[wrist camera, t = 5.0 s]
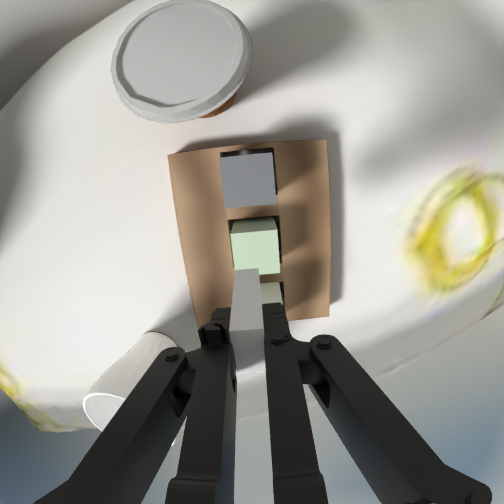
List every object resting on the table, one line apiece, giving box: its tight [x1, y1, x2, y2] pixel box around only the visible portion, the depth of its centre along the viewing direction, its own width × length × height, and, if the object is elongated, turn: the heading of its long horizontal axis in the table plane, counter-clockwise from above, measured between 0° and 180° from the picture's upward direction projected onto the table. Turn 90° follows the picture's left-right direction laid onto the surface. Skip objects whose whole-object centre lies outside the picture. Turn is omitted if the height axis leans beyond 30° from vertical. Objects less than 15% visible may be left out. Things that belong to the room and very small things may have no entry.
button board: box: [168, 140, 331, 327], centre depth 29 cm, size 15×19×2 cm
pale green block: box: [230, 217, 280, 275], centre depth 27 cm, size 4×4×5 cm
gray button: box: [219, 153, 276, 209], centre depth 23 cm, size 4×4×5 cm
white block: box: [260, 282, 283, 305], centre depth 28 cm, size 4×4×5 cm
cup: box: [83, 332, 177, 446], centre depth 29 cm, size 10×10×14 cm
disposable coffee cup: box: [111, 0, 252, 123], centre depth 19 cm, size 10×10×12 cm
